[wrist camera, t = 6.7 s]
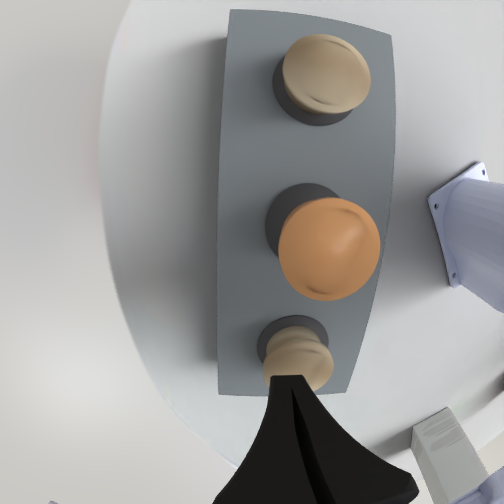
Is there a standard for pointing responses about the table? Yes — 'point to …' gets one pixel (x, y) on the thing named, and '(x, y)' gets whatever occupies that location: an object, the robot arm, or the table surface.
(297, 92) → the beech knob near
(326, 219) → the orange knob
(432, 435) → the skincare box
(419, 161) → the table surface
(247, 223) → the console
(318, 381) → the beech knob far
